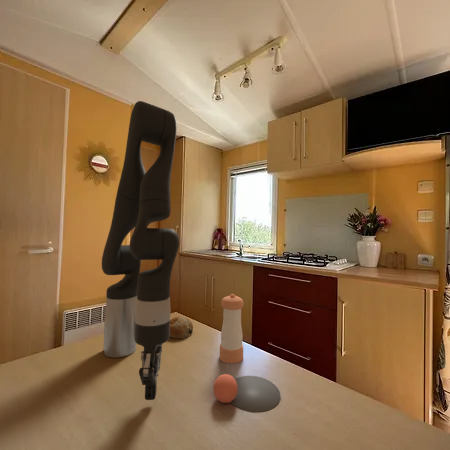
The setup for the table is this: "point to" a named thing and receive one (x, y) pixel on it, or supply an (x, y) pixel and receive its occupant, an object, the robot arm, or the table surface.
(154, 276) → the robot arm
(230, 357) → the pepper shaker
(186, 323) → the bread roll
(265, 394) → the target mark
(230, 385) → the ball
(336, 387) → the table surface
